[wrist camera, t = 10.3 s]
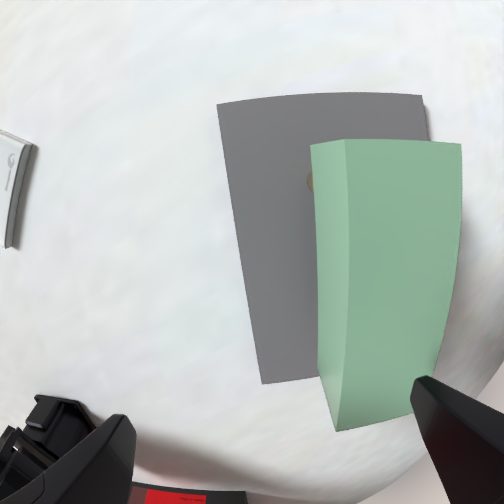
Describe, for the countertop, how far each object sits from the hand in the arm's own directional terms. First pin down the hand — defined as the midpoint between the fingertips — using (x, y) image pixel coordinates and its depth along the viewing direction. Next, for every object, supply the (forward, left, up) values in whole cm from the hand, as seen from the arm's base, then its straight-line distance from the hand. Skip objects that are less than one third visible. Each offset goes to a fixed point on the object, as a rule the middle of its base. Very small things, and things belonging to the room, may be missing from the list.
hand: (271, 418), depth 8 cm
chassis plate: (+1, -5, -11) cm, 12 cm away
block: (+1, -5, -8) cm, 9 cm away
